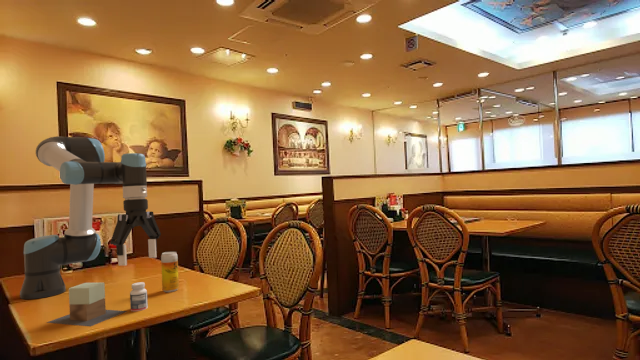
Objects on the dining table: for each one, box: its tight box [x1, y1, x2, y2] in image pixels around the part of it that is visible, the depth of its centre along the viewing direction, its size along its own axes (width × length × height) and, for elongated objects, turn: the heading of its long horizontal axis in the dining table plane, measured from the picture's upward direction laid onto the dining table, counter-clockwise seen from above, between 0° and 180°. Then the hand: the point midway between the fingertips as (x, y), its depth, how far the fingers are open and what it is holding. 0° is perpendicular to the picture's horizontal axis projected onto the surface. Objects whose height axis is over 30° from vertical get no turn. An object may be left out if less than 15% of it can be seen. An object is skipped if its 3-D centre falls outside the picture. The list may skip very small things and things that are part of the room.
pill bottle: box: [129, 281, 149, 312], centre depth 131 cm, size 5×5×9 cm
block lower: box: [68, 297, 107, 321], centre depth 125 cm, size 7×7×5 cm
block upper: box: [68, 282, 106, 304], centre depth 125 cm, size 7×7×5 cm
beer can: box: [160, 251, 180, 293], centre depth 155 cm, size 6×6×15 cm
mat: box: [46, 309, 128, 327], centre depth 125 cm, size 18×14×1 cm
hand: (138, 261), depth 132 cm, fingers open, 13 cm apart
